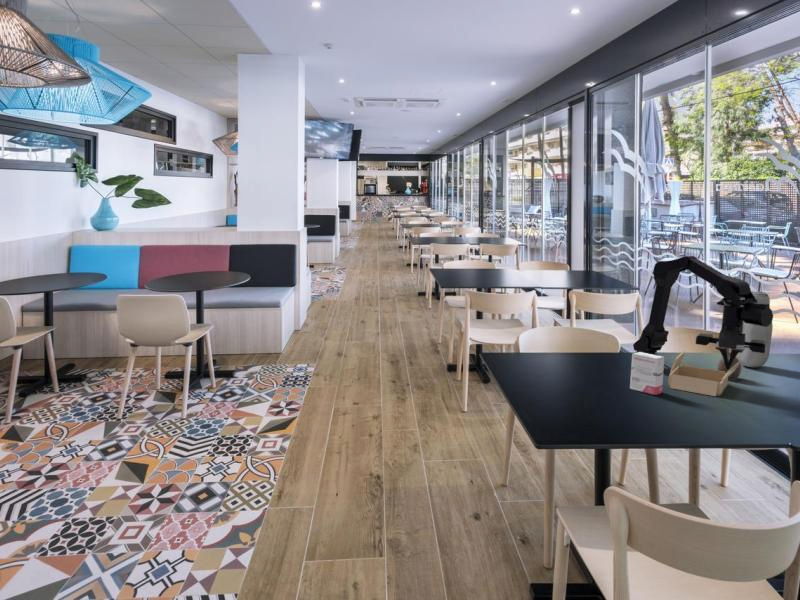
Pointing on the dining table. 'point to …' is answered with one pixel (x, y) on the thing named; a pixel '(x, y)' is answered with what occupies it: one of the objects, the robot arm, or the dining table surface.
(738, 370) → the vase
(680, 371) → the carton
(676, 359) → the flap left
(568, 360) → the dining table surface
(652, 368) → the ink box
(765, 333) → the grey bottle
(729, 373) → the flap right
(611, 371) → the dining table surface
